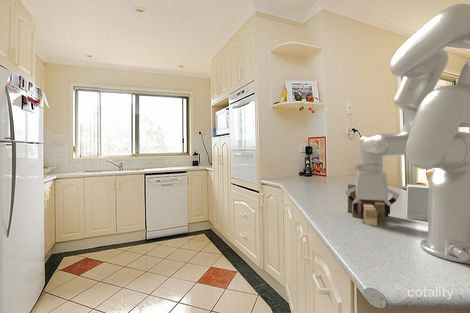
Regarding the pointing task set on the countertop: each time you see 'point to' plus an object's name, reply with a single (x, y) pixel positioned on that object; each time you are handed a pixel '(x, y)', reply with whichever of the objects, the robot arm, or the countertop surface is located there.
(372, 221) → the light wooden block
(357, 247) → the countertop surface
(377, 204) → the wooden stand
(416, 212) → the supplement box
